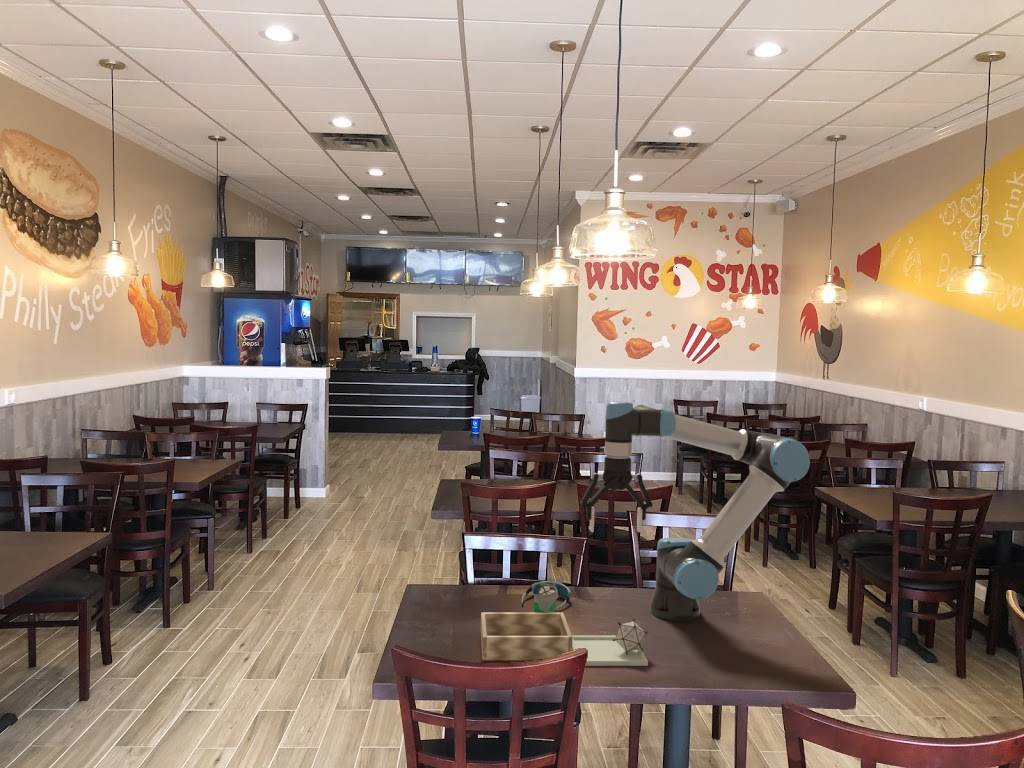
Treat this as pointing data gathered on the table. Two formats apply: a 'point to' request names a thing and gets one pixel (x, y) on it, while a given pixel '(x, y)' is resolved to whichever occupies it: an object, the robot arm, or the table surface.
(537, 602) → the food container
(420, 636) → the table surface
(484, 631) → the birch crate
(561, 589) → the sunglasses
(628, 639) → the game die
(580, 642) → the tray
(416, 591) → the table surface
